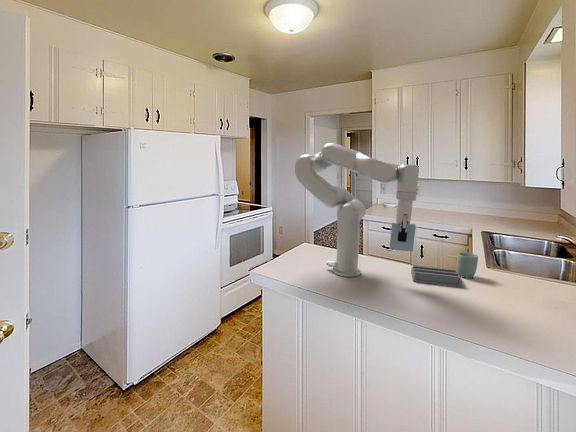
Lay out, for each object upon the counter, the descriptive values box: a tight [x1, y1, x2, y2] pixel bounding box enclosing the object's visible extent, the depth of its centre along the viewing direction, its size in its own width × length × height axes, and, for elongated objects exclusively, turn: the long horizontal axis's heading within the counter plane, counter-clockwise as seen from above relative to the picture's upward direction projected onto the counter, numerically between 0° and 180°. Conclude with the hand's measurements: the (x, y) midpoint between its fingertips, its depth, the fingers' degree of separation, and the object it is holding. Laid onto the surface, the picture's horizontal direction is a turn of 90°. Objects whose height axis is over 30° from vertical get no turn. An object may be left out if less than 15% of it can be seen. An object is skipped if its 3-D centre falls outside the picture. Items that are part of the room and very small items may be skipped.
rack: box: [410, 264, 463, 288], centre depth 133 cm, size 18×11×4 cm, turn 74°
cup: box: [456, 251, 479, 279], centre depth 138 cm, size 8×8×10 cm
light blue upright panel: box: [388, 221, 417, 253], centre depth 127 cm, size 9×2×11 cm, turn 74°
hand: (401, 240), depth 127 cm, fingers closed on light blue upright panel, 1 cm apart
